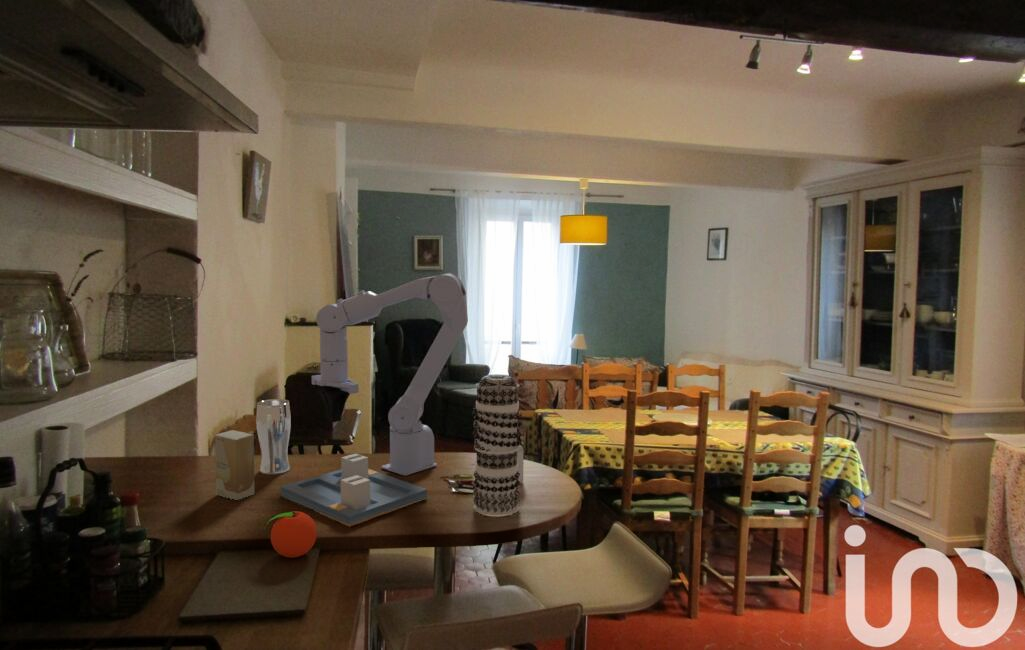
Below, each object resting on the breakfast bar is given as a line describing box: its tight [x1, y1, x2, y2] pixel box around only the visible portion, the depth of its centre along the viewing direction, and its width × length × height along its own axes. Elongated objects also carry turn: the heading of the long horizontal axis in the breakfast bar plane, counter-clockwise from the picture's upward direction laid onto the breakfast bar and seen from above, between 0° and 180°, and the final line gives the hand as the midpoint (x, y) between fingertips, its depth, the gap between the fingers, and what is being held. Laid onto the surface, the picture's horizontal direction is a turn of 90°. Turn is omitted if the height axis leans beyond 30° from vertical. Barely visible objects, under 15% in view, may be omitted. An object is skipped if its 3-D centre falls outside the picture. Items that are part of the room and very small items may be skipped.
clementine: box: [263, 511, 318, 559], centre depth 106 cm, size 8×7×7 cm
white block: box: [340, 453, 369, 479], centre depth 137 cm, size 4×4×5 cm
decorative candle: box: [471, 374, 523, 515], centre depth 125 cm, size 9×9×25 cm
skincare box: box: [214, 429, 255, 501], centre depth 131 cm, size 6×4×12 cm
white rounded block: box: [517, 444, 525, 485], centre depth 139 cm, size 4×6×12 cm
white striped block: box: [341, 475, 371, 510], centre depth 124 cm, size 4×4×5 cm
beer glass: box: [255, 398, 292, 476], centre depth 146 cm, size 7×7×15 cm
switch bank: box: [280, 468, 428, 524], centre depth 131 cm, size 18×22×2 cm
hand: (335, 421), depth 148 cm, fingers closed
